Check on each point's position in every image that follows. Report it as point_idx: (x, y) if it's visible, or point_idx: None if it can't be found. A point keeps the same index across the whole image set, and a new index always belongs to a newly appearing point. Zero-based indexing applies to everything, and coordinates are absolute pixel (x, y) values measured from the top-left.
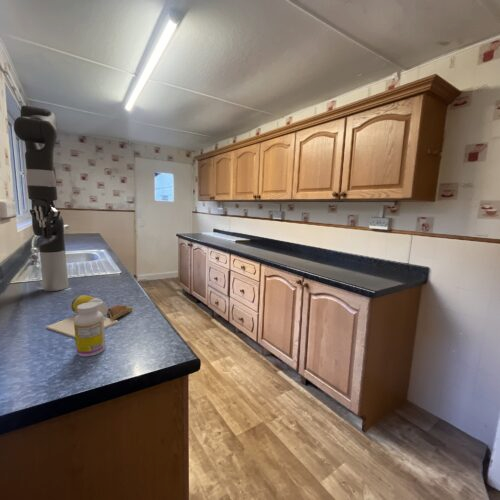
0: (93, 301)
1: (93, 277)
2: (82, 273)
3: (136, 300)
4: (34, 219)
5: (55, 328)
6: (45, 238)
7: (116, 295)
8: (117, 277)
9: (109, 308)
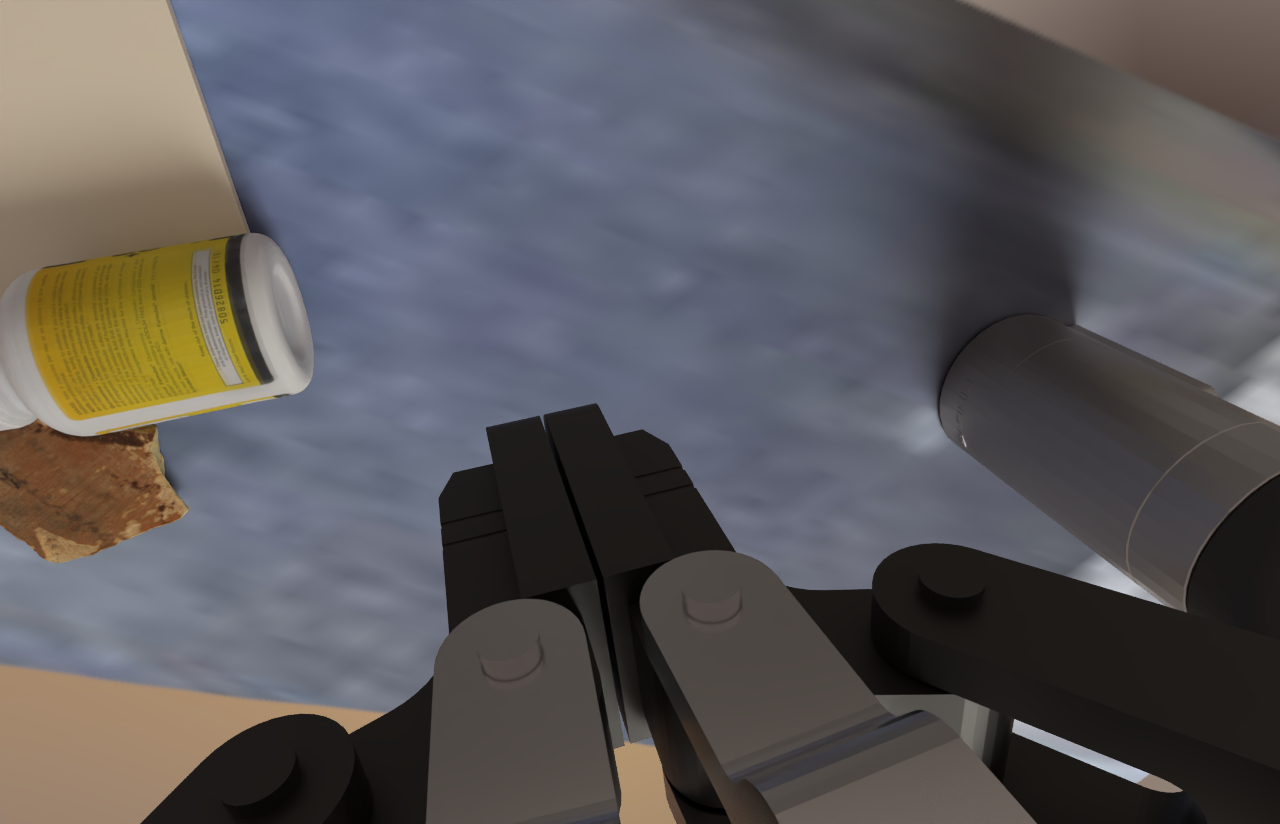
0: (4, 362)
1: None
2: None
3: (289, 641)
4: (1208, 645)
5: (44, 10)
6: (490, 429)
7: None
8: None
9: (140, 447)
